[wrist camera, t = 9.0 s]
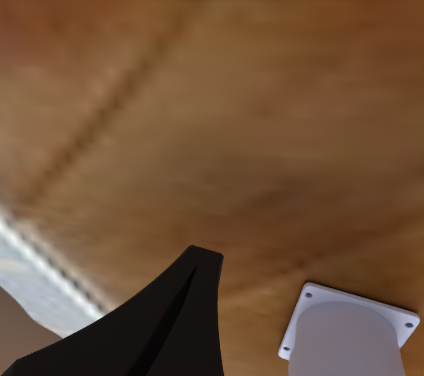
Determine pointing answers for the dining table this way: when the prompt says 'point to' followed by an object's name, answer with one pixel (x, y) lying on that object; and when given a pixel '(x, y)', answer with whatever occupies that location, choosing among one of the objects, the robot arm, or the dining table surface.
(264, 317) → the dining table surface
